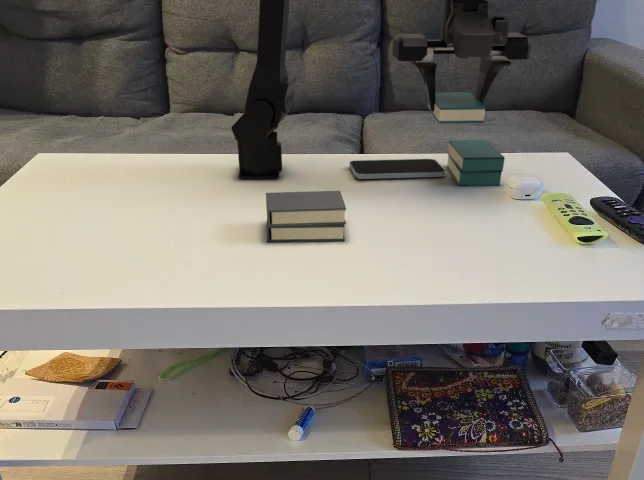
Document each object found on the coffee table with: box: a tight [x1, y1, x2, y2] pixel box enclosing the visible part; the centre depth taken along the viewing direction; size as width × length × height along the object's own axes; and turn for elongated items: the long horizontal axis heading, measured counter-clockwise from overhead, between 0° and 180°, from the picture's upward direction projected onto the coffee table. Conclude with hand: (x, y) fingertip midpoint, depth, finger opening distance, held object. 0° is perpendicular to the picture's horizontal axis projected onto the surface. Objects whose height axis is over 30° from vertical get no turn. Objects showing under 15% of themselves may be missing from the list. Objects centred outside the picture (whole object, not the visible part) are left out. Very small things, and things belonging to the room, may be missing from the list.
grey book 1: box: [265, 190, 347, 227], centre depth 87 cm, size 10×6×2 cm, turn 97°
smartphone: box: [348, 158, 446, 180], centre depth 110 cm, size 7×1×15 cm
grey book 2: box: [266, 221, 346, 243], centre depth 89 cm, size 10×6×2 cm, turn 94°
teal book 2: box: [447, 139, 506, 172], centre depth 108 cm, size 10×6×2 cm, turn 6°
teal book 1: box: [426, 91, 486, 125], centre depth 99 cm, size 10×6×2 cm, turn 3°
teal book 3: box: [446, 154, 503, 187], centre depth 109 cm, size 10×6×2 cm, turn 4°
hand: (454, 110), depth 99 cm, fingers closed on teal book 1, 6 cm apart
